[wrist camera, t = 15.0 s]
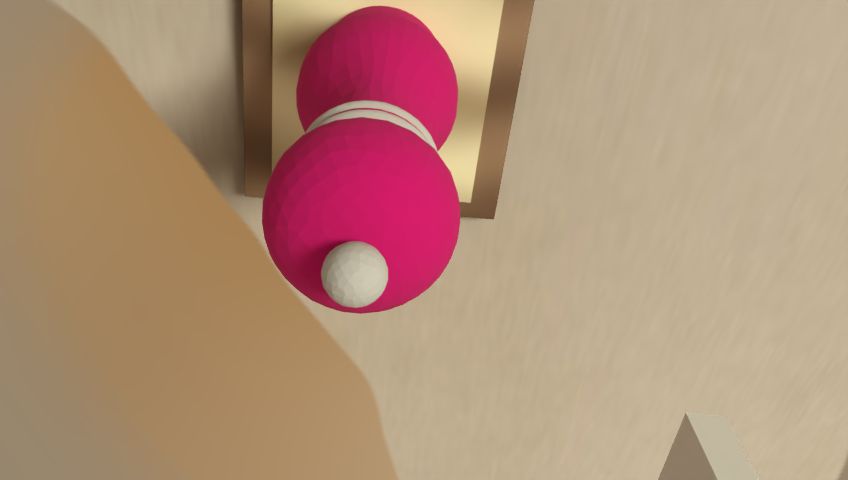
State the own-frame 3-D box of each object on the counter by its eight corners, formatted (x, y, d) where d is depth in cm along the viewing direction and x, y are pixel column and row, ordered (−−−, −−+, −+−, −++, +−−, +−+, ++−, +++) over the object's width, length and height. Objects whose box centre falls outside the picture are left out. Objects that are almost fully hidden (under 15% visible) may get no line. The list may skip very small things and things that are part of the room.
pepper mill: (482, 77, 35) (549, 306, 18) (375, 162, 38) (345, 438, 20) (388, -39, 33) (362, 99, 15) (279, 60, 35) (147, 279, 17)
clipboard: (244, -129, 32) (236, -127, 30) (547, -91, 33) (554, -87, 31) (248, 188, 40) (242, 202, 38) (492, 211, 41) (495, 226, 39)
